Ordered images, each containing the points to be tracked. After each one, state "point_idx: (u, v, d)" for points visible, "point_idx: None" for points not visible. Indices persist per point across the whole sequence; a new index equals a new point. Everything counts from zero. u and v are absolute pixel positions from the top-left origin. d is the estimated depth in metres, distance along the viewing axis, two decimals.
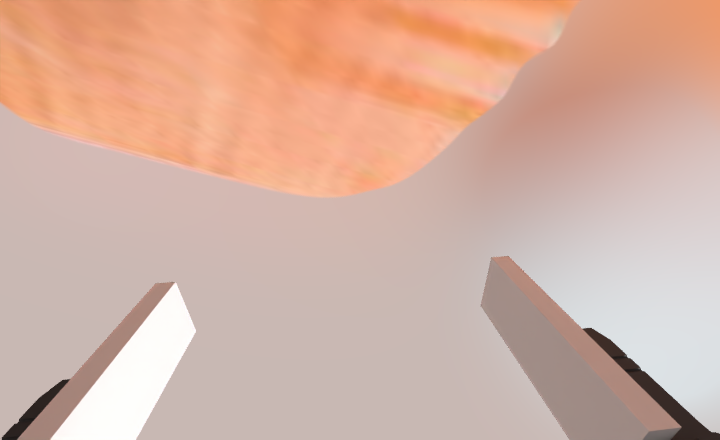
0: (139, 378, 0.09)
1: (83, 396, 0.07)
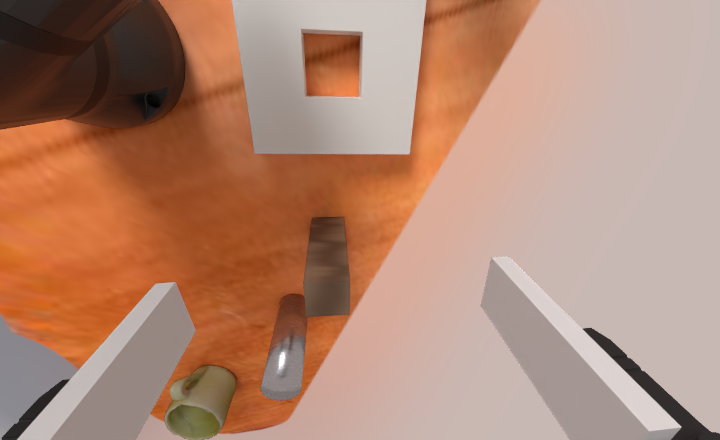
0: (139, 378, 0.09)
1: (83, 396, 0.07)
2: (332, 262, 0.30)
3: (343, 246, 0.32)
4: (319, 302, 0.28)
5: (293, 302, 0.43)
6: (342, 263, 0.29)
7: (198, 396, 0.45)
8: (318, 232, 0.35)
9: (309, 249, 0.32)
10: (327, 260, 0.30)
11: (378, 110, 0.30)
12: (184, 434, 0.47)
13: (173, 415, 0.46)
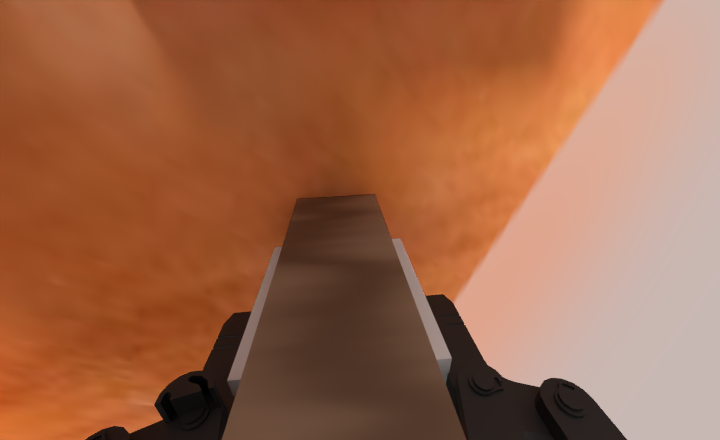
0: None
1: None
2: (364, 368, 0.06)
3: (393, 277, 0.09)
4: None
5: None
6: (416, 375, 0.06)
7: None
8: (310, 234, 0.12)
9: (271, 296, 0.09)
10: (343, 358, 0.07)
11: None
12: None
13: None
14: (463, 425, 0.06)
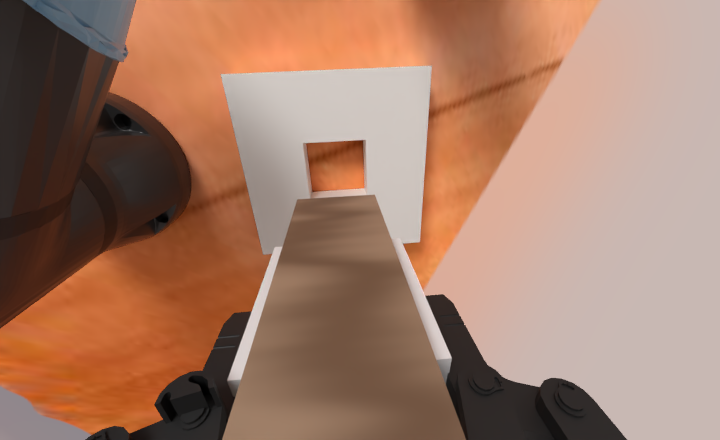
0: None
1: None
2: (364, 369, 0.06)
3: (393, 277, 0.09)
4: None
5: None
6: (415, 376, 0.06)
7: None
8: (310, 235, 0.12)
9: (270, 296, 0.09)
10: (343, 359, 0.07)
11: (386, 206, 0.30)
12: None
13: None
14: (463, 425, 0.06)
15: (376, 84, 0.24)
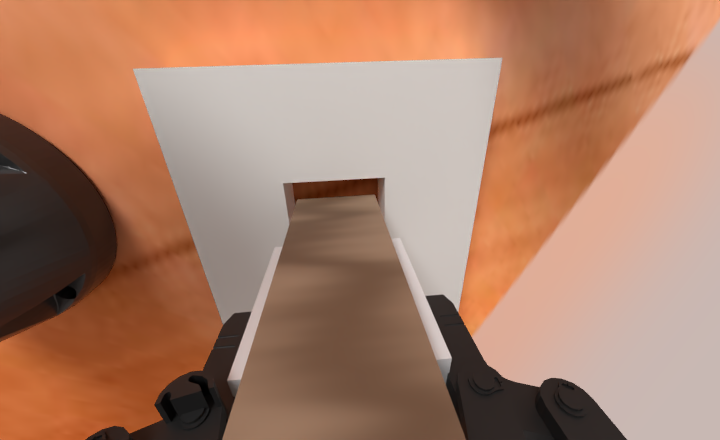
0: None
1: None
2: (364, 369, 0.06)
3: (393, 277, 0.09)
4: None
5: None
6: (416, 376, 0.06)
7: None
8: (310, 235, 0.12)
9: (271, 297, 0.09)
10: (343, 359, 0.07)
11: None
12: None
13: None
14: (463, 425, 0.06)
15: (406, 89, 0.14)
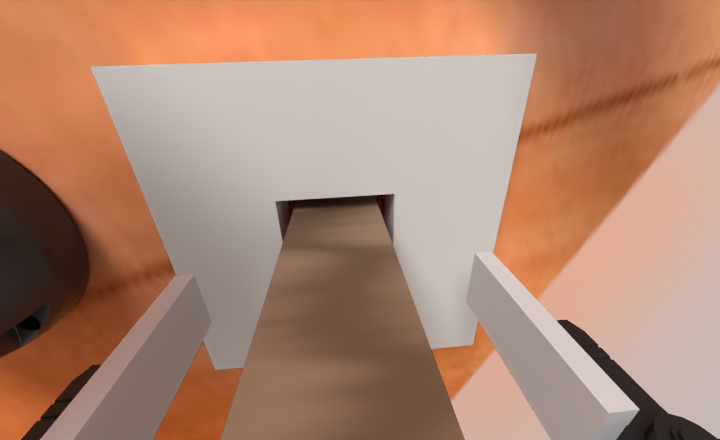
0: (163, 364, 0.09)
1: (117, 378, 0.07)
2: (359, 333, 0.07)
3: (387, 260, 0.10)
4: None
5: None
6: (404, 338, 0.07)
7: None
8: (311, 224, 0.13)
9: (276, 276, 0.09)
10: (341, 325, 0.07)
11: (423, 298, 0.17)
12: None
13: None
14: None
15: (422, 91, 0.12)
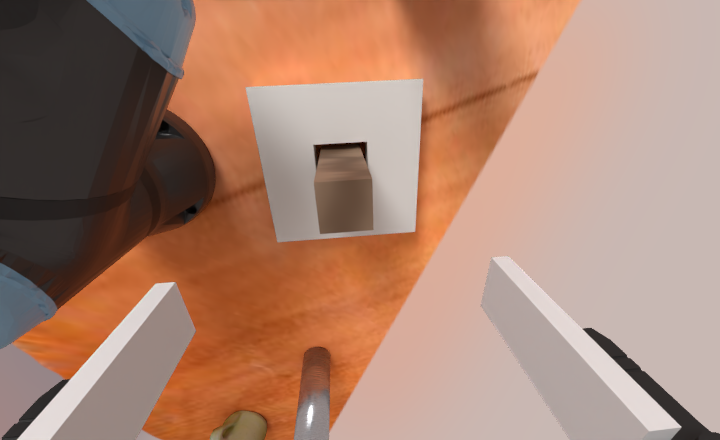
0: (139, 378, 0.09)
1: (83, 396, 0.07)
2: (348, 168, 0.24)
3: (360, 159, 0.27)
4: (335, 212, 0.22)
5: (316, 356, 0.47)
6: (361, 168, 0.24)
7: None
8: (329, 153, 0.30)
9: (319, 162, 0.26)
10: (342, 168, 0.24)
11: (385, 199, 0.34)
12: None
13: None
14: None
15: (376, 94, 0.29)
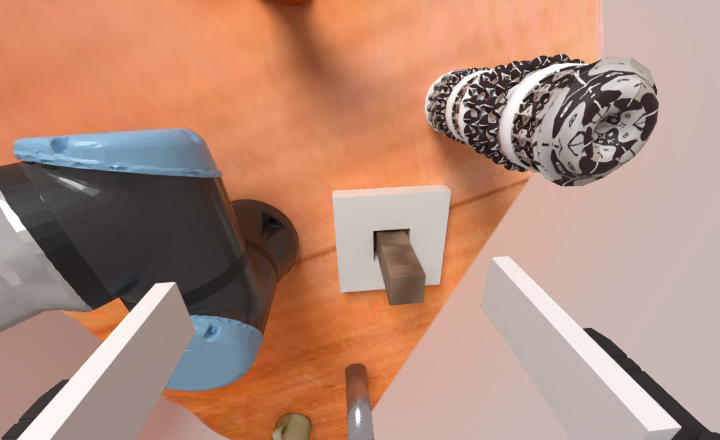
0: (139, 378, 0.09)
1: (83, 396, 0.07)
2: (406, 261, 0.37)
3: (410, 248, 0.40)
4: (401, 293, 0.35)
5: (357, 371, 0.60)
6: (415, 262, 0.37)
7: (290, 439, 0.62)
8: (385, 238, 0.43)
9: (383, 252, 0.39)
10: (402, 260, 0.37)
11: None
12: None
13: None
14: None
15: (418, 200, 0.42)
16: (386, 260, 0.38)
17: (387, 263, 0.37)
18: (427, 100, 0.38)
